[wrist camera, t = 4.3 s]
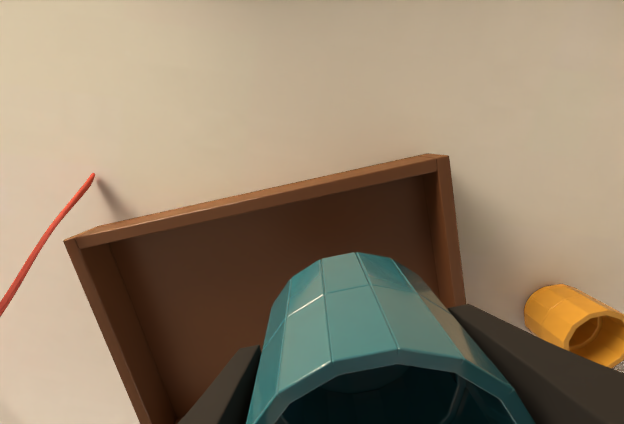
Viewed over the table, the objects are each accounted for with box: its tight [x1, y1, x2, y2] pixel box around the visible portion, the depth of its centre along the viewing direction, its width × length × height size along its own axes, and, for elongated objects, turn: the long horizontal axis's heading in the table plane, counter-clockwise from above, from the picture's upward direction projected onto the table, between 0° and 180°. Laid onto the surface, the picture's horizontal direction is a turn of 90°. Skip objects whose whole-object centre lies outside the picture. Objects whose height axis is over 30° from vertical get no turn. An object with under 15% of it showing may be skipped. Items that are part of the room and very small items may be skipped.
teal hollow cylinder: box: [246, 252, 536, 424], centre depth 8 cm, size 6×6×5 cm
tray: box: [63, 154, 466, 424], centre depth 17 cm, size 18×13×2 cm
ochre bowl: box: [524, 284, 624, 368], centre depth 17 cm, size 4×4×3 cm
